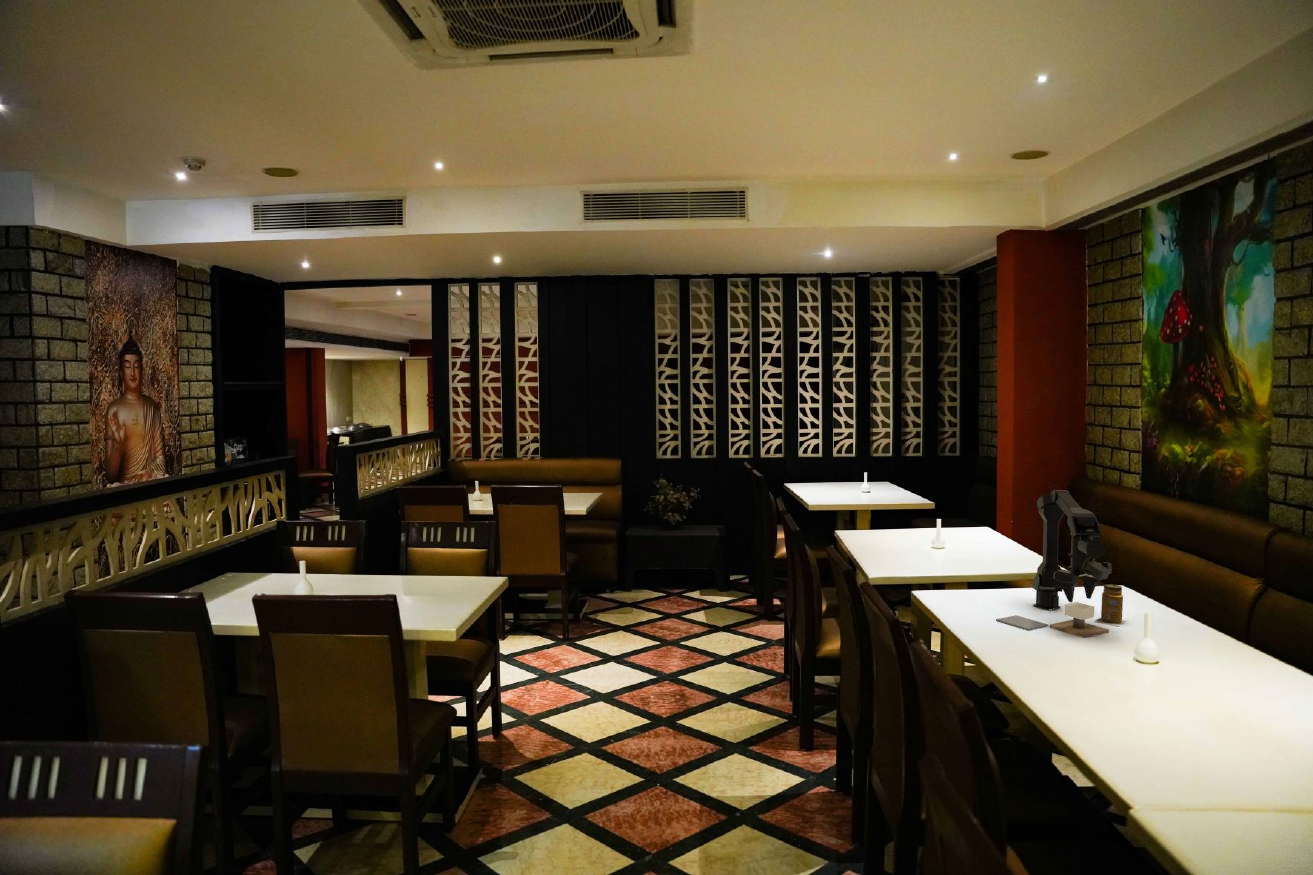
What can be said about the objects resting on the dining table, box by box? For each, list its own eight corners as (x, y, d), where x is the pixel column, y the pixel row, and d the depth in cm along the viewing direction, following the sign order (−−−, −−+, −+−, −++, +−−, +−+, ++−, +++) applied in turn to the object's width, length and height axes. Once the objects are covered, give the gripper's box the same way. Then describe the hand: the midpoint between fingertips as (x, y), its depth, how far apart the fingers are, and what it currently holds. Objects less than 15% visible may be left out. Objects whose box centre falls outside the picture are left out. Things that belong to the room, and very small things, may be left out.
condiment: (1126, 621, 260) (1127, 585, 259) (1118, 626, 254) (1119, 590, 254) (1102, 617, 265) (1103, 582, 265) (1093, 622, 260) (1095, 586, 259)
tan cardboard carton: (1064, 614, 251) (1064, 604, 251) (1076, 612, 254) (1076, 601, 254) (1082, 619, 246) (1082, 608, 246) (1094, 617, 249) (1094, 606, 249)
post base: (1049, 627, 253) (1050, 606, 253) (1072, 622, 259) (1073, 601, 258) (1084, 637, 242) (1085, 615, 242) (1108, 632, 248) (1109, 610, 248)
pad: (996, 620, 260) (996, 619, 260) (1016, 616, 265) (1016, 615, 265) (1028, 630, 250) (1028, 628, 250) (1048, 626, 254) (1048, 624, 254)
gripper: (1087, 559, 238) (1085, 610, 239) (1124, 553, 246) (1122, 602, 247) (1053, 552, 247) (1051, 601, 248) (1090, 547, 256) (1088, 594, 257)
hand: (1079, 600), depth 250 cm, fingers open, 9 cm apart
